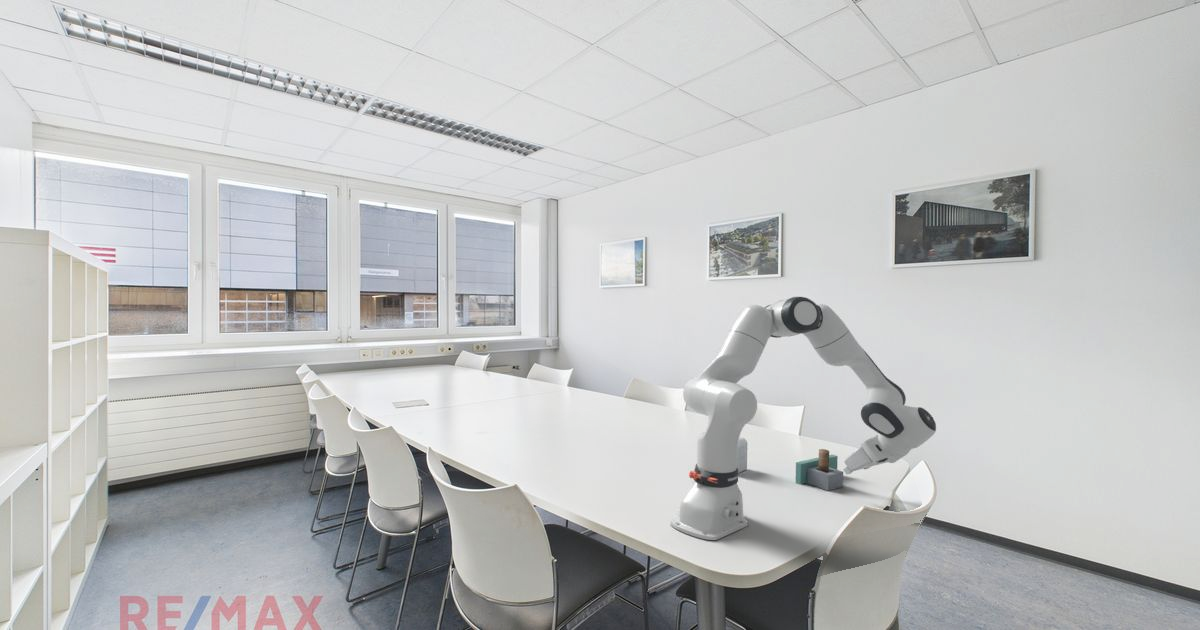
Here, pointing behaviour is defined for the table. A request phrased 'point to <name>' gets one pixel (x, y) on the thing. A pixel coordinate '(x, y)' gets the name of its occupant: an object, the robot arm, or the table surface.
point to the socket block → (825, 478)
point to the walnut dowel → (823, 460)
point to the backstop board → (803, 465)
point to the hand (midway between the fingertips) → (855, 469)
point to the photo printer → (742, 454)
